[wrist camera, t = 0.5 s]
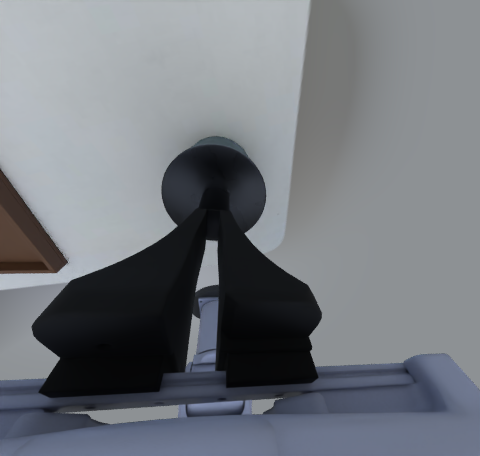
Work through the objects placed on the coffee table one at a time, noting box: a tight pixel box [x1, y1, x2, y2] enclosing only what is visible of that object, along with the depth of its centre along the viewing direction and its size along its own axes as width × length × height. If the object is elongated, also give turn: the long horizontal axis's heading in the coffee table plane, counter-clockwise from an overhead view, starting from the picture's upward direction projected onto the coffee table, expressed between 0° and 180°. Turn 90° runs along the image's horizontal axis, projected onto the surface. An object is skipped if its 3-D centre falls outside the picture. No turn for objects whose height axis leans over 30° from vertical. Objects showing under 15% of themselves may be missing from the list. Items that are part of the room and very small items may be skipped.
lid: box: [162, 144, 266, 241], centre depth 12 cm, size 8×8×4 cm
